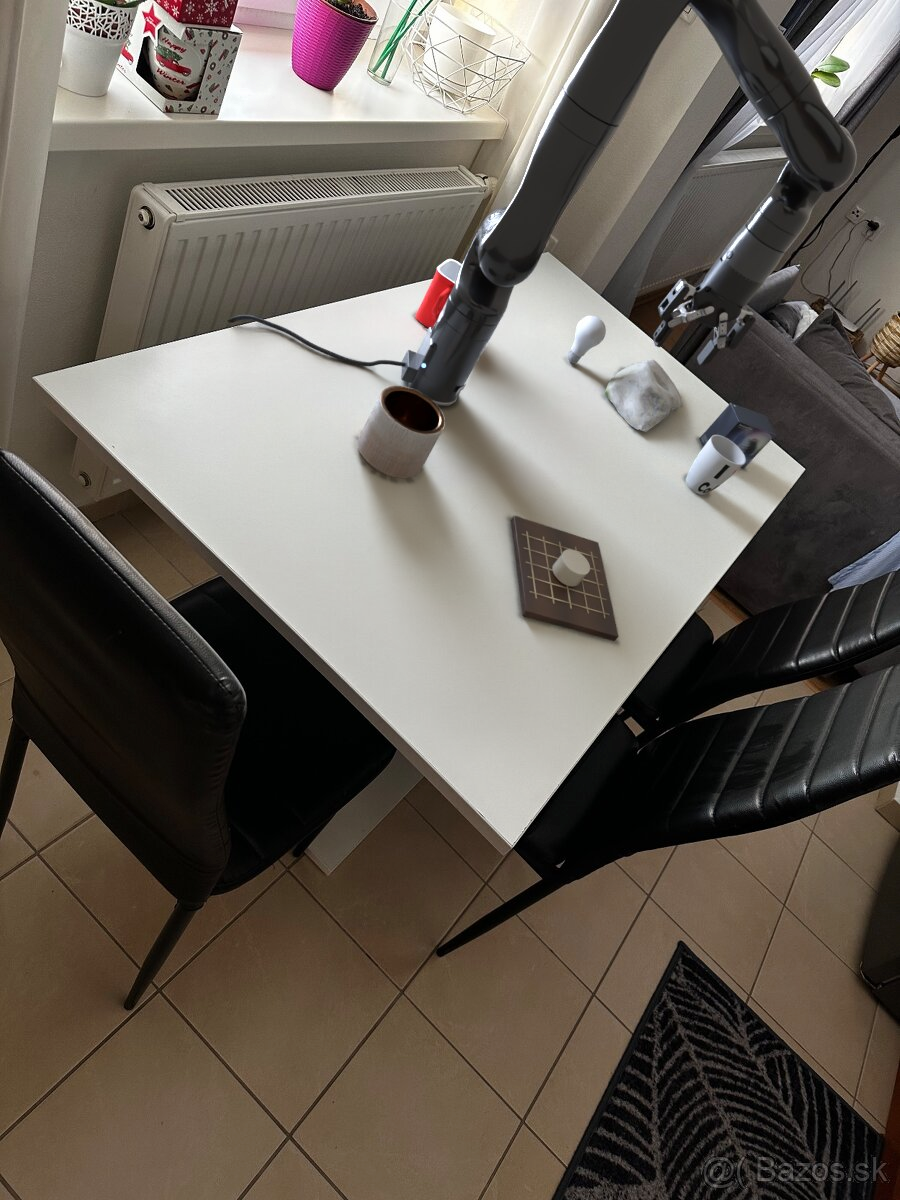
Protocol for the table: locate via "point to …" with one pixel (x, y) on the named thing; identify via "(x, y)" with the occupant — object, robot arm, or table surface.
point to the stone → (643, 394)
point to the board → (552, 598)
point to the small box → (742, 430)
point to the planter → (401, 431)
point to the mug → (438, 292)
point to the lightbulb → (586, 337)
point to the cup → (714, 465)
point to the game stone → (571, 567)
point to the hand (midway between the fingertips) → (678, 353)
